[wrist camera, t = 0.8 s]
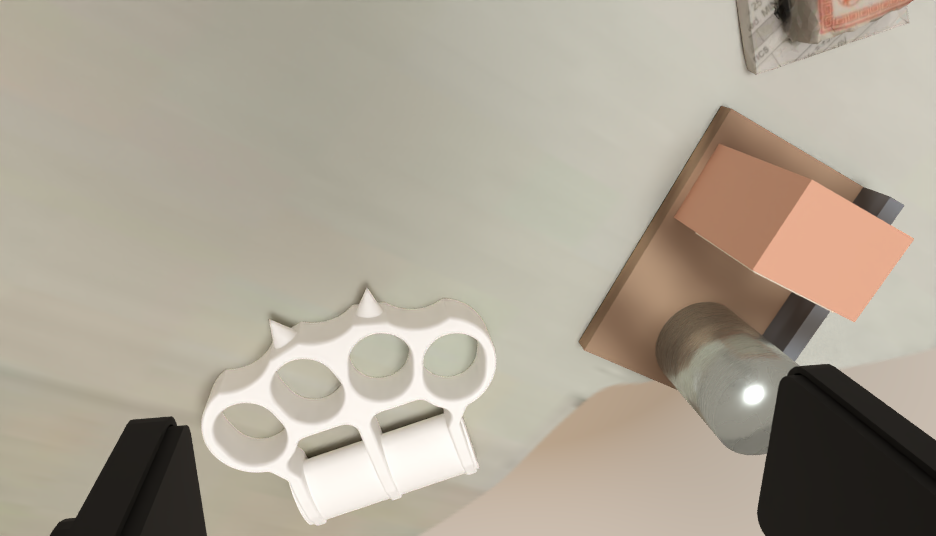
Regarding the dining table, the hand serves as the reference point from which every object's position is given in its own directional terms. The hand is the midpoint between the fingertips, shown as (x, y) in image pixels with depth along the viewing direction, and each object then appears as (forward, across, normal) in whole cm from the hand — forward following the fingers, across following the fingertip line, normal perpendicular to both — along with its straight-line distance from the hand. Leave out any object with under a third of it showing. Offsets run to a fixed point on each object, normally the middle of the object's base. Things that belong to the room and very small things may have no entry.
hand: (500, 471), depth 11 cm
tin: (+30, -20, +14) cm, 38 cm away
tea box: (+30, -21, +4) cm, 36 cm away
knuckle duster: (+32, +3, +16) cm, 36 cm away
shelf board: (+31, -21, +9) cm, 38 cm away
